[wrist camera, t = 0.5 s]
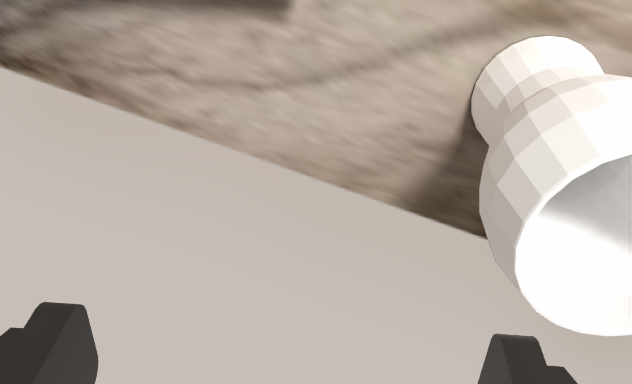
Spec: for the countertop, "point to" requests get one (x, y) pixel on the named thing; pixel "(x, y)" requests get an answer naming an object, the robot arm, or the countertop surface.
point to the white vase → (559, 181)
